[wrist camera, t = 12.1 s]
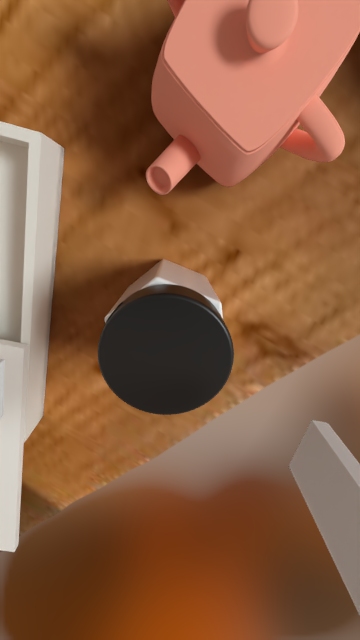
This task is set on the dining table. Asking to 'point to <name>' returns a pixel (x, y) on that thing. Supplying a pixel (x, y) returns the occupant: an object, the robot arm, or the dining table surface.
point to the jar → (166, 342)
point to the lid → (12, 440)
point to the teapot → (248, 84)
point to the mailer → (29, 250)
